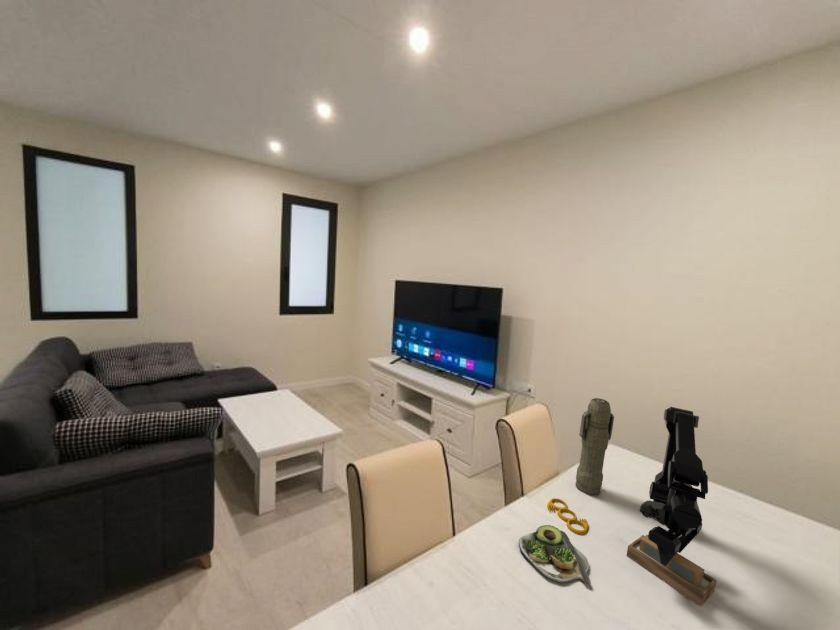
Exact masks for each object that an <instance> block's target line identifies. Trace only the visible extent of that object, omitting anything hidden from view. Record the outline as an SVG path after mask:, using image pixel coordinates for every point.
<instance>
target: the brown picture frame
mask: <svg viewBox="0 0 840 630" xmlns="http://www.w3.org/2000/svg"><path fill="white" fill-rule="evenodd" d="M644 536H645V535H644V534H642V535H641V536H640V537H638V538H637V539H636V540H634V541H632V543H629V544H628V545H627V550H626V557H627V558H629V559H630V560H631V561H634V562H635V563H636V564H638V565H639V566H641V567H642V568H644V570H647V571H648V572H650V573H651V574H652V575H653V576H655V577H657V578H659V579H660V580H661V581H663V582H665V583H666V584H668V585H669V586H670V587H671V588H673V589H675V590H676V591H678V592H679V593H680V594H682V595H683V596H685V597H686V598H687V599H689V600H690V601H692V602H694V603H695V604H697V605H698V606H699V607H702V606H703V605H704V604H705V603H706V602H707V600H708V599H710V597H711V596H712V594H713V593H714V592H715V589H716V584H717V581H718V580H717V579H716V578H714V577H713V576H711V575H709V574H708V573H706V572H704V575H703V580H702V582H701V583H700V585H699V586H698V587H696V586H694V585H693V584H691V583H690V582H688V581H687V580H685V579H684V578H682V577H680V576H679V575H677V574H676V573H674V572H673V571H671V570H670V569H668V568H667V567H665V566H664V565H662V564H660V563H659V562H657V561H656V560H654V559H653V558H651V557H650V556H648V555H647V554H645V553H644V552H642V551H640V550H639V549H640V543H641V538H643V537H644Z"/></svg>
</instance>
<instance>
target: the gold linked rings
mask: <svg viewBox="0 0 840 630" xmlns="http://www.w3.org/2000/svg"><path fill="white" fill-rule="evenodd" d="M555 502H557V503H560V504H562V505H563V506H564V507H560V506H557V505H555V504H554V503H555ZM546 507H547V510H548V512H549V513H551V512H552V513H553V512H554V513H556V511H557V516H558V518H560V519H561V520H562V521H563V522H566V527H567V529H568V530H569V531H570V532H571V533H573V534H576V535H580V536H583V535H586V534H587V532H588V530H589V522H588V521H587V519H586V518H579V520H577V519H578V517H577V514H576V512H574V511H572V510H571V509H569V508H568V504H567V503H566V502H565V501H564V500H562V499H560V498H555V497H554V498H551V499H550V500H548V502H547V506H546ZM563 512H564V513H568V514H570V515H572V516H573V517H571V518H570V517H567V516H565V515H563V514H562V513H563ZM571 524H577V525H579V526H581V527H582V529H577V528H575V527H573V526H572V525H571Z"/></svg>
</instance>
